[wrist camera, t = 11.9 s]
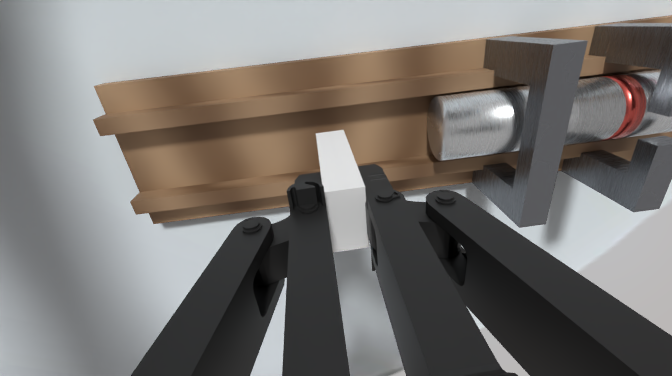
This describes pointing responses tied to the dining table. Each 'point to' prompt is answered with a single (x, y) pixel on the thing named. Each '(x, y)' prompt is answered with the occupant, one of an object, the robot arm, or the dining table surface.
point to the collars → (554, 115)
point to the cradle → (308, 123)
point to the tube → (510, 106)
